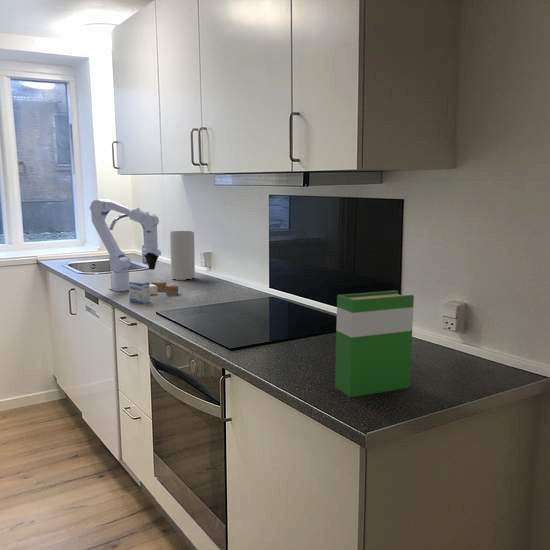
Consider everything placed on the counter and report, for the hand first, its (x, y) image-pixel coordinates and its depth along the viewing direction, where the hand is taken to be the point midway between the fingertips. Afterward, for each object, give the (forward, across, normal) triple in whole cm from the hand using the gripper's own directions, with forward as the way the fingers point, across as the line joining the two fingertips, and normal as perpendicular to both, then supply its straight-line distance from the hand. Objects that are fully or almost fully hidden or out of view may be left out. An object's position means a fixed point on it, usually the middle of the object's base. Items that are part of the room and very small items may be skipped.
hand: (151, 269), depth 278 cm
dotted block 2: (+11, -11, -4) cm, 16 cm away
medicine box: (+11, -19, +16) cm, 27 cm away
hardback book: (+11, -153, +18) cm, 154 cm away
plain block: (+11, -5, +4) cm, 12 cm away
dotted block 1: (+11, +1, -4) cm, 11 cm away
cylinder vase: (+11, +23, -30) cm, 39 cm away
